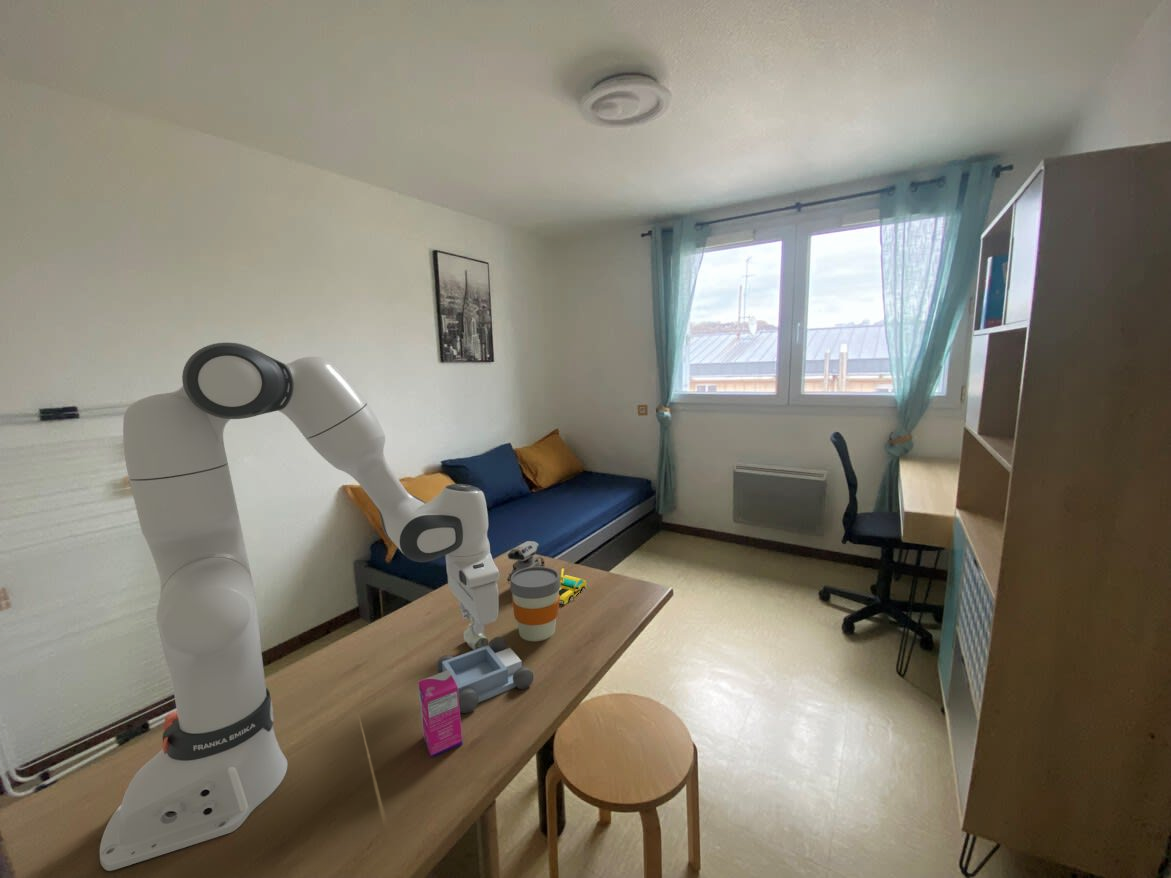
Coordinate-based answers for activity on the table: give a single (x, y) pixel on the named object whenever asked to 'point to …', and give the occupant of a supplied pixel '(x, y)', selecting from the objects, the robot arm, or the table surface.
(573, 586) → the toy car
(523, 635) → the reusable coffee cup
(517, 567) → the figurine
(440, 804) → the table surface
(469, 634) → the valve
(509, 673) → the chassis
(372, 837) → the table surface
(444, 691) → the supplement box
